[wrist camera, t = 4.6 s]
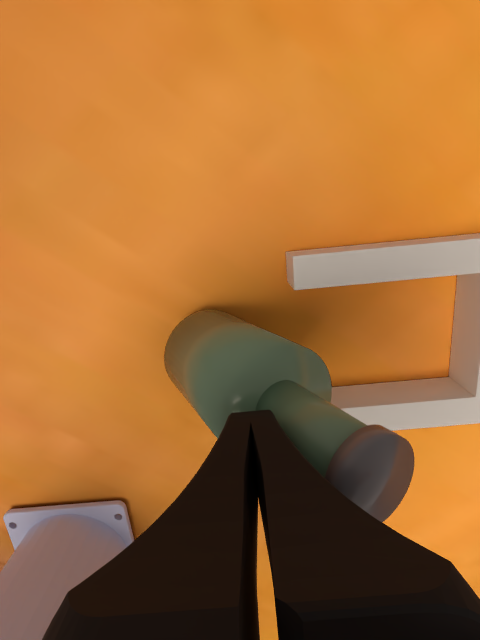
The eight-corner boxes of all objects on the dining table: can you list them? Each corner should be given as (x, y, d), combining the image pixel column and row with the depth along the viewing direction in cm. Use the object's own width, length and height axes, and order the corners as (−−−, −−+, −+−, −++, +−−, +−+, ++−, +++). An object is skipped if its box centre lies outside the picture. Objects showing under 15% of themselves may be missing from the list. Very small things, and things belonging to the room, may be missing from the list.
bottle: (250, 380, 20) (435, 515, 10) (172, 406, 18) (308, 606, 8) (242, 301, 19) (446, 370, 9) (157, 320, 17) (297, 436, 7)
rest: (472, 398, 20) (502, 421, 18) (294, 413, 21) (301, 438, 18) (491, 231, 18) (529, 233, 15) (285, 251, 18) (292, 256, 16)
